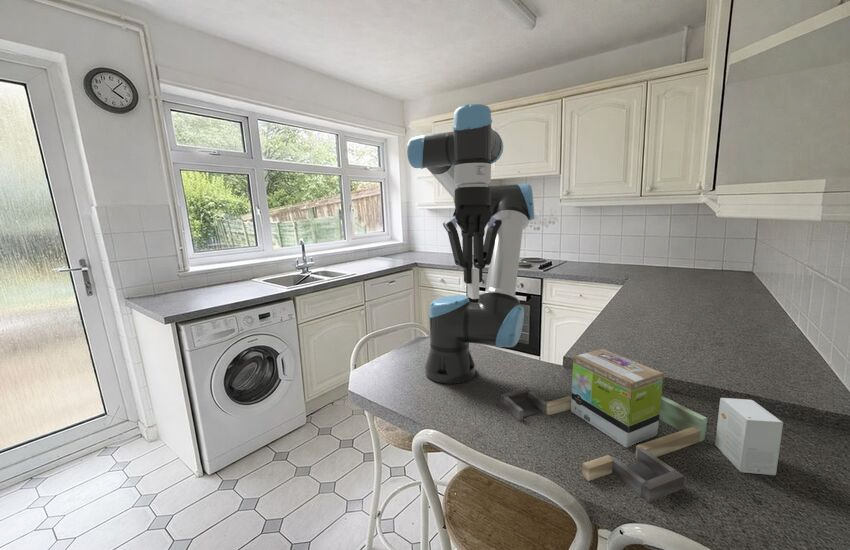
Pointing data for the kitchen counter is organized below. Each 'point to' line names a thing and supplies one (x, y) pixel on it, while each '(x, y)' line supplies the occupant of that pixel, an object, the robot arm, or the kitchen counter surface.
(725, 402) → the small box
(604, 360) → the tea box
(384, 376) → the kitchen counter surface
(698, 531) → the kitchen counter surface
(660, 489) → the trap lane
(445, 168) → the robot arm
